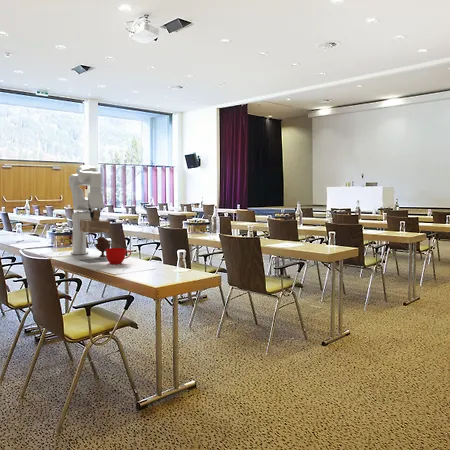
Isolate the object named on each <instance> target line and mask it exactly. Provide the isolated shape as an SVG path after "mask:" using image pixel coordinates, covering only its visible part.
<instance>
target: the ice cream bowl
mask: <svg viewBox="0 0 450 450" xmlns="http://www.w3.org/2000/svg"><path fill="white" fill-rule="evenodd" d="M94 246H95V248H96V250H97V251H99V252H100V253H101V254H100V255H98V258H105V257H106V254H105V252H106V249H108V248H111V243H110V242H109V240H108V239H107V238H105V237H104V236H99V237H97V238H96V243H95V244H94ZM106 258H107V257H106Z"/></svg>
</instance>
